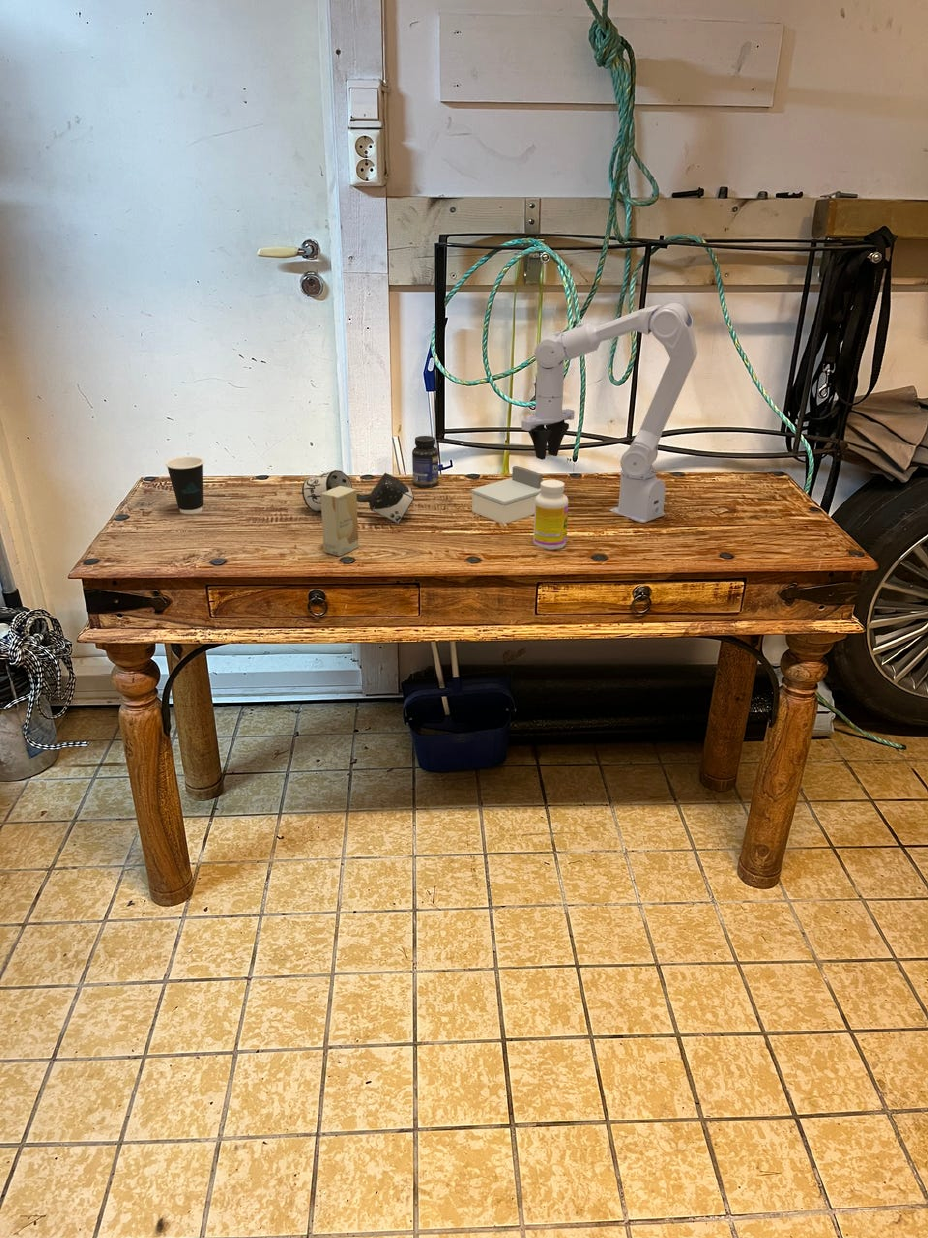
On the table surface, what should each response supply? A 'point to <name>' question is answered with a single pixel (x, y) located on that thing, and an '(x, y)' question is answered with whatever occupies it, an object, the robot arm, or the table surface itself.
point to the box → (503, 508)
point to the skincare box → (339, 520)
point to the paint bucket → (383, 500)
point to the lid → (512, 487)
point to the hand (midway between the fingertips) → (546, 456)
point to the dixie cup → (187, 483)
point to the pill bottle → (425, 462)
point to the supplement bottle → (551, 516)
